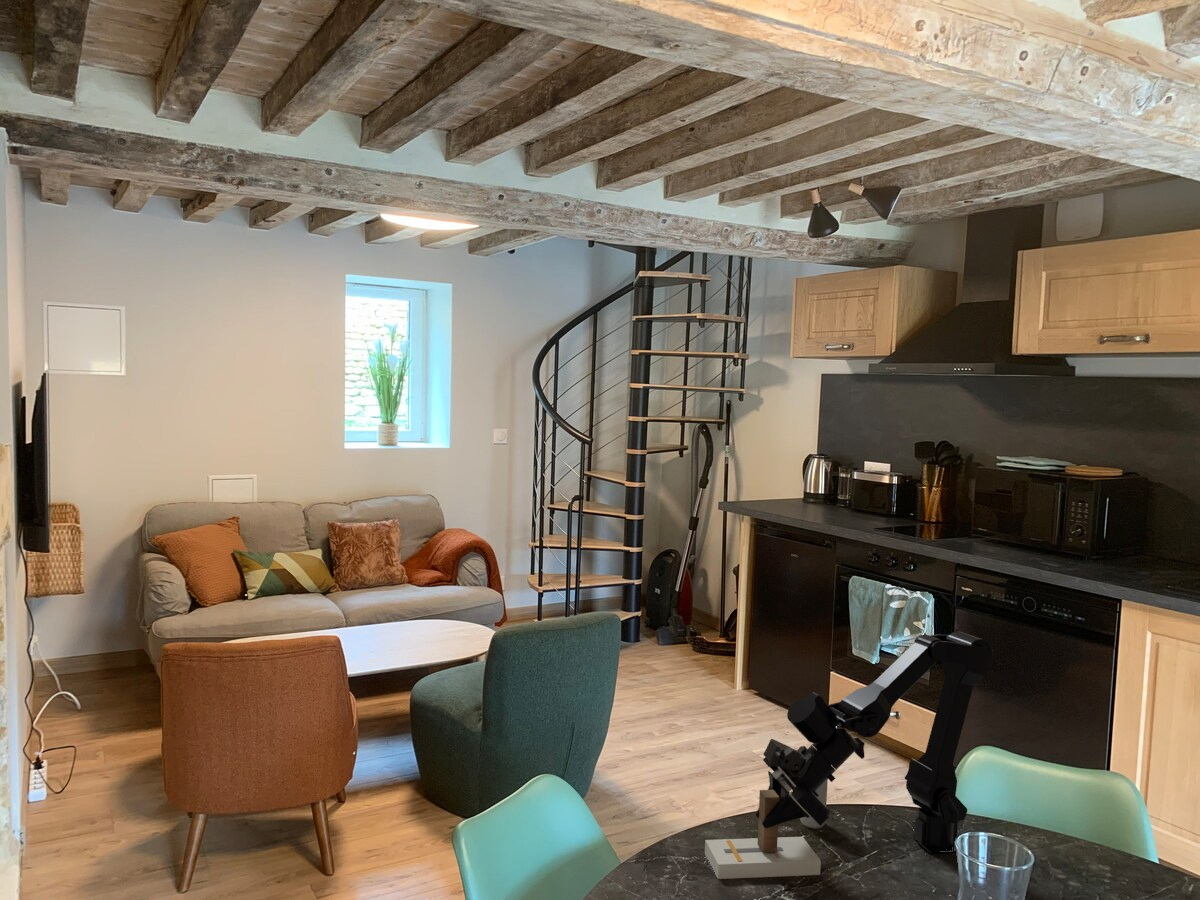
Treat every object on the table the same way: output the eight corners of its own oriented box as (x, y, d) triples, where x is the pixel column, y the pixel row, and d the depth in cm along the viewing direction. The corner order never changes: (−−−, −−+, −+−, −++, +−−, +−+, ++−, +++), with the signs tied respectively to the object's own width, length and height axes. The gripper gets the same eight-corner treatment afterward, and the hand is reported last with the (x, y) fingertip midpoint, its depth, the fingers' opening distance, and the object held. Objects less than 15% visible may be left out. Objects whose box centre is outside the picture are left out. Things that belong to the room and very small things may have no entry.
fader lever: (771, 843, 158) (773, 789, 157) (776, 852, 155) (779, 797, 154) (757, 844, 157) (759, 790, 157) (762, 852, 154) (765, 797, 154)
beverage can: (823, 819, 175) (826, 758, 174) (827, 830, 170) (830, 768, 169) (798, 817, 175) (801, 756, 175) (801, 828, 170) (804, 766, 170)
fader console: (801, 850, 162) (802, 835, 162) (820, 874, 153) (820, 859, 153) (704, 853, 159) (705, 839, 159) (717, 879, 151) (718, 863, 150)
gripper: (775, 708, 165) (715, 768, 164) (813, 746, 147) (746, 814, 145) (814, 749, 166) (755, 809, 165) (857, 792, 148) (790, 860, 147)
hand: (760, 821), depth 156 cm, fingers closed on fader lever, 3 cm apart
